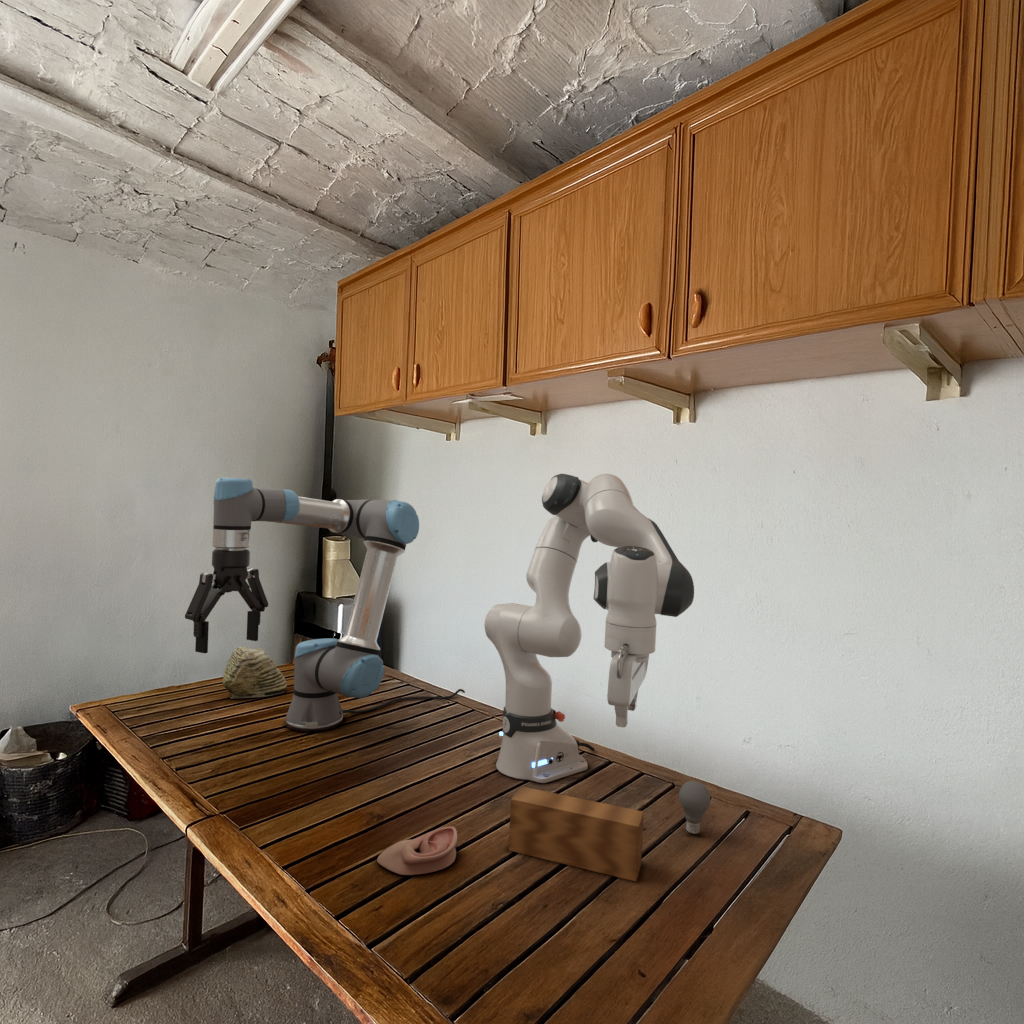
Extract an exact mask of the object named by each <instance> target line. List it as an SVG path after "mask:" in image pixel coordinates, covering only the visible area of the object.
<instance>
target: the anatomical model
mask: <svg viewBox="0 0 1024 1024" xmlns="http://www.w3.org/2000/svg"><path fill="white" fill-rule="evenodd" d="M458 837H459V836H458V830H457V828H456V827H454V826H444V827H440V828H437V829H434V830H431V831H429V832H426V833H424V834H422V835H420V836H417V837H416V838H413V839H404V840H400V841H398V842H396V843H394V844H392V845H390V846H389V847H387V848H386V849H385V850H383V851H382V852H381V853H380V854H379V855H378V857H377V858H376V862H377V864H378V865H380V866H381V867H383V868H384V869H386V870H388V871H390V872H392V873H395V874H397V875H400V876H415V875H423V874H429V873H434V872H437V871H440V870H443V869H445V868H447V867H449V866H451V865H452V864H453V863H454V862H455V860H456V858H457V848H456V846H457V845H458Z"/></svg>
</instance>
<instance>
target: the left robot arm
mask: <svg viewBox="0 0 1024 1024" xmlns="http://www.w3.org/2000/svg"><path fill="white" fill-rule="evenodd" d="M253 485H254V484H253V481H252V480H251V479H250V478H240V477H237V478H236V477H219V478H217V479H216V481H215V483H214V493H213V497H212V499H213V526H212V527H213V528H212V544H211V545H212V547H213V548H214V549H213V550H212V551H211V566H212V567H213V572H212V573H209V572H208V573H207V572H201V573H200V574H199V581H198V585H197V587H196V590H195V592H194V594H193V596H192V599H191V601H190V602H189V604H188V605H189V606H188V608H187V610H186V612H185V614H184V618H185V619H186V620H189V621H192V622H193V637H194V638H195V648H194V651H195V653H200V654H208V653H209V630H210V629H209V625H210V624H209V623H210V621H208V620H207V618H208V617H209V616H210V614H211V612H212V611H213V609H214V608H215V606H216V605H217V603H218V602H219V600H220V599H221V597H222V596H224V595H225V594H226V593H233V592H238V593H239V595H240V596H241V598H242V599H243V601H244V603H246V605H247V607H248V608H249V609H250V610H247V616H246V641H251V642H258V641H259V626H260V625H261V616H262V615H261V613H262V612H265V611H266V608H268V607H269V602H268V598H267V596H266V593H265V591H264V587H263V585H262V583H261V582H262V581H261V580H260V570H259V569H258V568H252V567H250V565H251V564H250V563H251V551H250V550H249V549H248V548H250V547H251V532H252V531H251V529H252V522H268V523H277V524H285V525H286V524H287V525H294V526H295V525H296V526H303V527H313V528H321V529H328V530H329V531H330V532H332V533H335V534H342V535H347V536H351V537H355V538H359V539H362V540H363V545H364V546H365V548H366V553H365V556H364V559H363V564H362V569H361V572H360V576H359V580H358V584H357V588H356V591H355V595H354V599H353V603H352V606H351V611H350V614H349V619H348V622H347V625H346V629H345V633H344V635H342V636H341V637H340V638H339V639H338V638H335V637H334V638H331V637H329V638H315V639H308V640H304V641H301V642H299V643H298V644H297V645H296V646H295V652H294V656H293V659H294V661H293V662H294V668H293V669H294V670H293V695H292V696H293V697H292V699H291V702H290V704H289V708H288V711H287V713H286V715H285V726H286V728H287V729H289V730H291V731H294V732H295V731H296V732H301V733H316V732H325V731H329V730H332V729H335V728H337V727H339V726H340V725H342V723H343V722H344V714H362V713H363V714H364V713H367V712H372V711H374V710H377V709H380V708H383V707H385V706H387V705H389V704H392V703H394V702H399V701H406V700H447V699H452V698H454V697H455V696H456V695H458V693H459V692H462V694H463V693H464V694H465V693H466V691H465V690H464V689H462V688H458V689H457V690H456V691H455V692H454V693H452V694H450V695H446V696H432V695H431V696H428V695H427V696H425V695H424V696H406V697H405V696H404V697H398V698H393V699H390V700H387V701H386V702H384V703H382V704H379V705H376V706H373V707H369V708H365V709H359V710H352V709H342V706H341V702H340V699H339V695H343V696H344V697H346V698H355V699H365V698H367V697H369V696H370V695H372V693H374V692H375V691H376V690H377V689H378V687H379V686H380V685H381V683H382V680H383V678H384V674H385V665H384V661H383V659H382V658H381V657H380V652H381V647H380V646H379V644H378V637H379V633H380V628H381V624H382V621H383V617H384V613H385V609H386V604H387V601H388V598H389V597H388V596H389V593H390V589H391V585H392V581H393V577H394V572H395V570H396V565H397V561H398V557H400V556H401V555H403V554H404V553H405V551H406V548H407V545H408V544H411V543H413V542H414V540H416V539H417V537H418V534H419V531H420V519H419V515H418V514H417V511H416V509H415V507H414V506H413V505H411V504H410V503H408V502H406V501H401V500H397V499H393V500H392V499H391V500H390V499H389V500H387V499H386V500H385V499H371V498H370V499H368V498H367V499H341V498H336V499H334V500H331V501H330V500H325V499H318V498H310V497H305V496H299V495H297V493H296V492H295V491H293V490H291V489H285V488H263V487H262V488H261V487H260V488H259V487H254V486H253ZM246 580H247V581H246ZM338 694H339V695H338Z"/></svg>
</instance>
